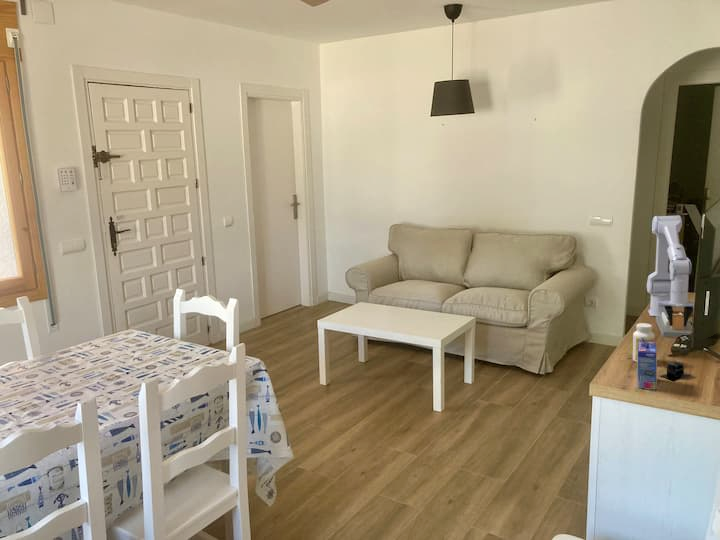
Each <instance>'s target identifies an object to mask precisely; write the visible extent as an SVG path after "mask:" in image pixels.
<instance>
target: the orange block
mask: <svg viewBox="0 0 720 540" xmlns="http://www.w3.org/2000/svg"><path fill="white" fill-rule="evenodd" d="M672 322H673V325H672V326H671V328H672V329H682V330H684V313H682V314H679V313H673V316H672Z"/></svg>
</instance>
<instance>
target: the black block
mask: <svg viewBox="0 0 720 540" xmlns="http://www.w3.org/2000/svg"><path fill="white" fill-rule="evenodd" d="M684 368H685V366H684V363H682V362H680V361H672V362H669V363H667V366H666V372H665V373H664V374H660V375H659V376H660V377H659V378H662V379H664V378H665V379H664V380H668V381H671V382H677V381H680V380H682V379H686V378H689V377H691V376H693V374H692V373H687V372H685V371H684V370H685V369H684Z"/></svg>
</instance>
